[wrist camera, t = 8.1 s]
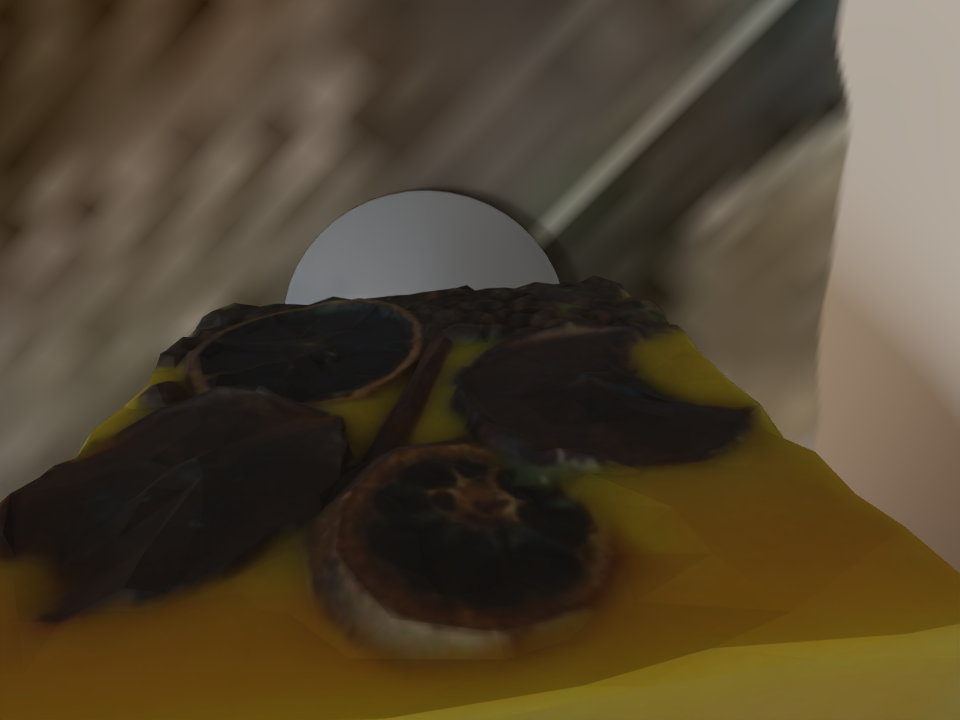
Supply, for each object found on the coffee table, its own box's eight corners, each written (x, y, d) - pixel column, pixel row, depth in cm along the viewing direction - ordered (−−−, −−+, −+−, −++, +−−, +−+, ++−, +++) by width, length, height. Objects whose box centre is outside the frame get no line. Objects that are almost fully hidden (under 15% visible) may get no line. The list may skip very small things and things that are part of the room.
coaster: (301, 448, 25) (298, 456, 24) (270, 184, 20) (265, 186, 19) (548, 443, 26) (551, 450, 26) (578, 194, 21) (582, 196, 21)
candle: (606, 568, 17) (809, 1064, 8) (293, 608, 17) (143, 1195, 8) (625, 264, 13) (1099, 616, 4) (200, 301, 12) (-413, 832, 3)
